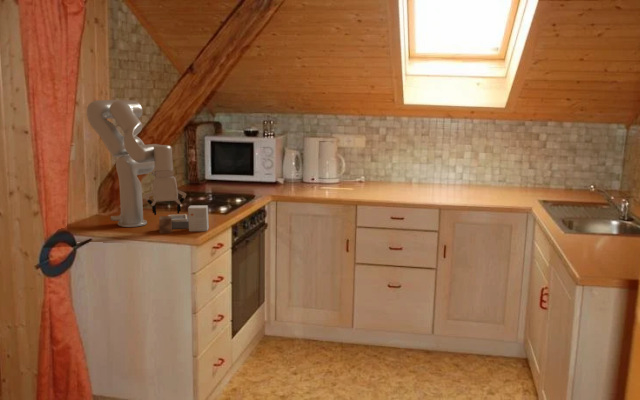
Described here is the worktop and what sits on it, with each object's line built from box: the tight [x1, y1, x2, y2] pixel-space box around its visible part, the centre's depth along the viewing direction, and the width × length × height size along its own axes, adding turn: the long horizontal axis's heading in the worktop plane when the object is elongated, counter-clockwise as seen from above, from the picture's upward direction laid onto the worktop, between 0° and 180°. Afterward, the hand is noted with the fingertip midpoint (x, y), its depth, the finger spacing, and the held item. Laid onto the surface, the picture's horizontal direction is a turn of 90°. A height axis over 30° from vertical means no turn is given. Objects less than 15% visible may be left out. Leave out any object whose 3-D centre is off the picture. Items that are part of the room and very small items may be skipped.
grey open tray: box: [167, 213, 189, 230], centre depth 275 cm, size 10×12×4 cm
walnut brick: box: [158, 215, 173, 234], centre depth 265 cm, size 5×7×6 cm
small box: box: [187, 204, 210, 232], centre depth 267 cm, size 8×6×10 cm
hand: (166, 213), depth 263 cm, fingers open, 9 cm apart
